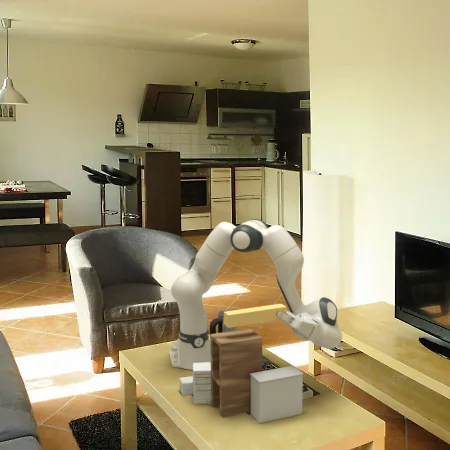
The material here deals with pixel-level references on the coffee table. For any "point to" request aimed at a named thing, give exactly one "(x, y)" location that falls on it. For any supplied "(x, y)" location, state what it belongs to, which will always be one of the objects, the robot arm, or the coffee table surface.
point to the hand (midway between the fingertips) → (274, 311)
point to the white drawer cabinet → (202, 383)
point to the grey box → (276, 393)
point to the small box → (186, 385)
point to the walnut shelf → (234, 369)
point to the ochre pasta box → (253, 315)
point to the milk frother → (220, 324)
